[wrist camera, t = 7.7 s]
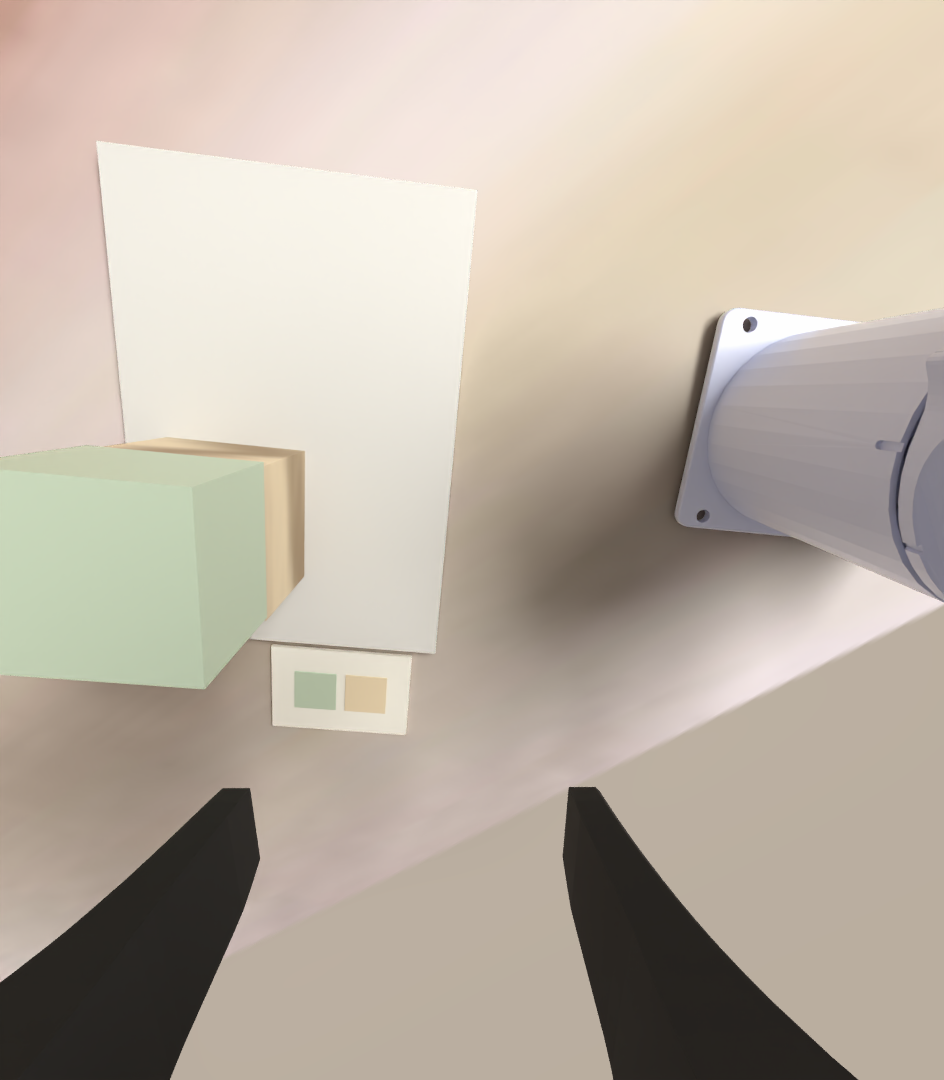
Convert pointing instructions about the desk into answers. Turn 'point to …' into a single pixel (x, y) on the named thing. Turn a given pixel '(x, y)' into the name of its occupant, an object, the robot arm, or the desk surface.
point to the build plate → (304, 359)
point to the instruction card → (340, 689)
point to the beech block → (280, 503)
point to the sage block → (129, 564)
